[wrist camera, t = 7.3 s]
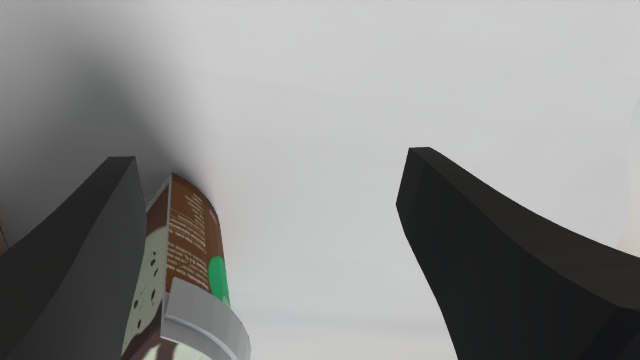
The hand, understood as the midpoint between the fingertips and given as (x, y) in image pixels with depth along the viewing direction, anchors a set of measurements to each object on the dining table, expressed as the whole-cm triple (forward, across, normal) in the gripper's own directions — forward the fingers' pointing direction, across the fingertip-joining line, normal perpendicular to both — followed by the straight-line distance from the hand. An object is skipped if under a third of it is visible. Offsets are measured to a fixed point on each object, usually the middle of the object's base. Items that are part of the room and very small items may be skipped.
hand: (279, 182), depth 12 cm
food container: (+10, +4, +12) cm, 16 cm away
